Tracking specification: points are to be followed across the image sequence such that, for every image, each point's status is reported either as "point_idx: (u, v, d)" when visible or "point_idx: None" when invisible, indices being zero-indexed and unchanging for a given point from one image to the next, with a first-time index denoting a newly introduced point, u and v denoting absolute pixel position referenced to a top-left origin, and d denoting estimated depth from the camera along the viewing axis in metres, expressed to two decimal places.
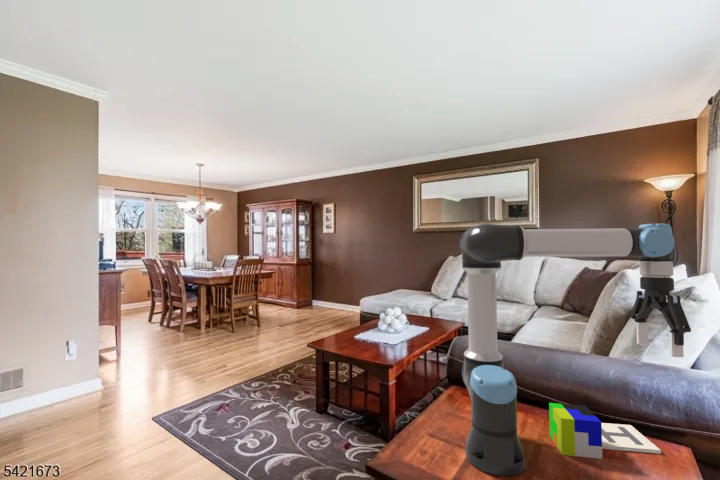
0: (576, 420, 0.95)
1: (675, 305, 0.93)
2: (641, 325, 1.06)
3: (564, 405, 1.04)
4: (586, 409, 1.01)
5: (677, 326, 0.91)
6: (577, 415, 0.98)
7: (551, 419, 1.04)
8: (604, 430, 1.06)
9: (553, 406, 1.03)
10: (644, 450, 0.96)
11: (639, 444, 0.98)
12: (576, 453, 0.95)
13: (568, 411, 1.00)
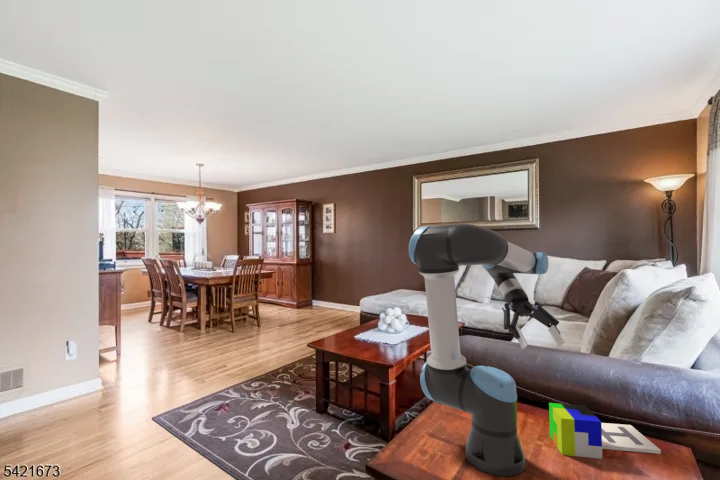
0: (576, 420, 0.95)
1: None
2: None
3: (564, 405, 1.04)
4: (586, 409, 1.01)
5: (555, 320, 1.19)
6: (577, 415, 0.98)
7: (551, 419, 1.04)
8: (604, 430, 1.06)
9: (553, 406, 1.03)
10: (644, 450, 0.96)
11: (639, 444, 0.98)
12: (576, 453, 0.95)
13: (568, 411, 1.00)
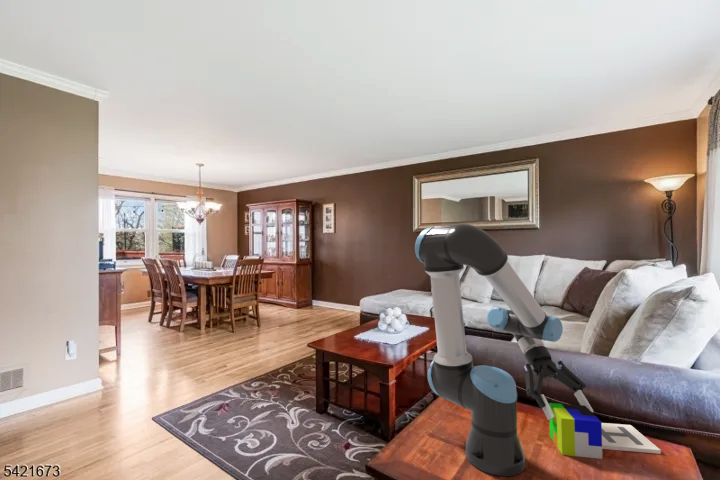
0: (576, 420, 0.95)
1: None
2: None
3: (564, 405, 1.04)
4: (586, 409, 1.01)
5: (581, 383, 1.10)
6: (577, 415, 0.98)
7: (551, 419, 1.04)
8: (604, 430, 1.06)
9: (553, 406, 1.03)
10: (644, 450, 0.96)
11: (639, 444, 0.98)
12: (576, 453, 0.95)
13: (568, 411, 1.00)
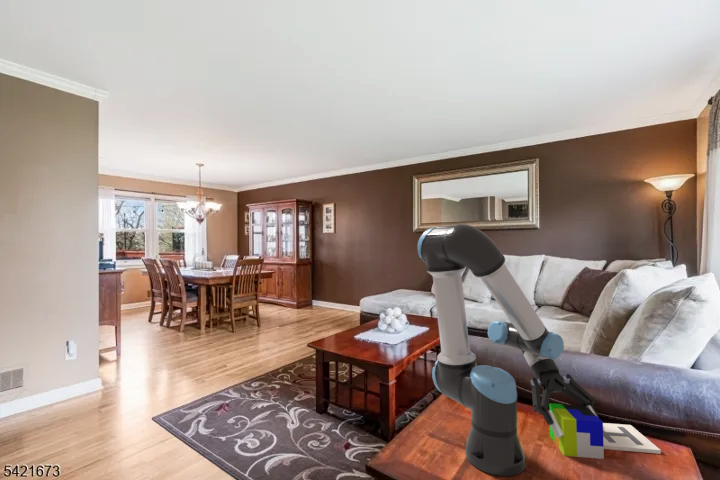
0: (578, 421, 0.95)
1: None
2: None
3: (564, 405, 1.04)
4: (587, 409, 1.01)
5: (591, 398, 1.05)
6: (578, 415, 0.97)
7: None
8: (604, 430, 1.06)
9: (554, 406, 1.03)
10: (644, 450, 0.96)
11: (639, 444, 0.98)
12: (578, 454, 0.94)
13: (569, 411, 1.00)
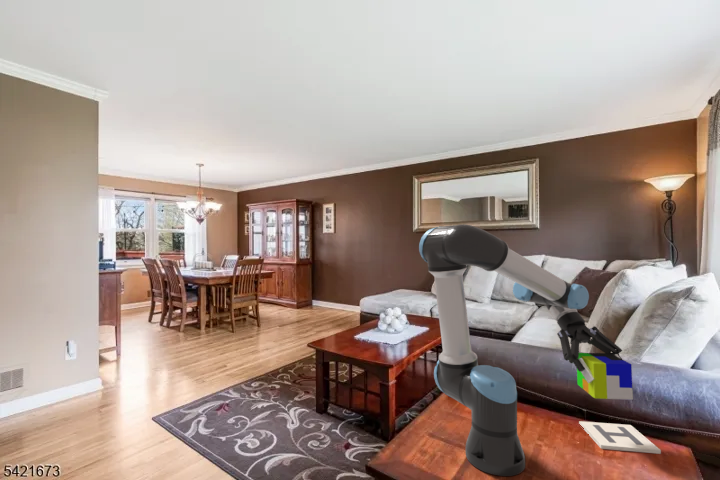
0: (607, 364, 0.98)
1: None
2: None
3: (591, 353, 1.07)
4: (613, 355, 1.05)
5: (617, 347, 1.08)
6: (607, 360, 1.01)
7: None
8: (604, 430, 1.06)
9: (581, 355, 1.07)
10: (644, 450, 0.96)
11: (639, 444, 0.98)
12: (608, 396, 0.98)
13: (597, 357, 1.04)
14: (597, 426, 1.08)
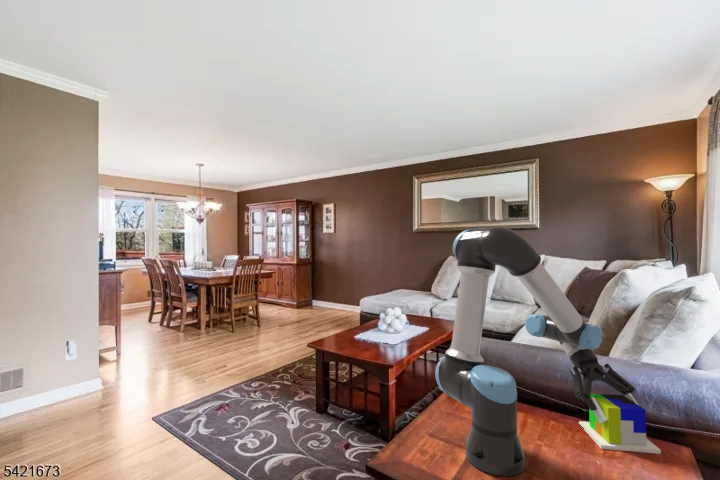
0: (622, 409, 0.99)
1: None
2: None
3: (604, 395, 1.08)
4: (626, 398, 1.06)
5: (630, 386, 1.09)
6: (620, 404, 1.02)
7: None
8: None
9: (594, 396, 1.07)
10: (644, 450, 0.96)
11: None
12: (622, 441, 0.99)
13: (610, 400, 1.04)
14: None
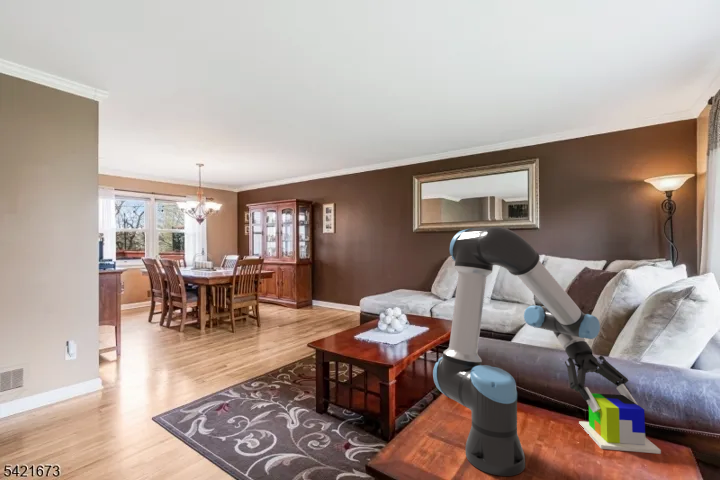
0: (620, 409, 0.99)
1: None
2: None
3: (603, 395, 1.08)
4: (625, 398, 1.06)
5: (623, 377, 1.12)
6: (619, 403, 1.02)
7: None
8: None
9: (593, 396, 1.07)
10: (644, 450, 0.96)
11: None
12: (621, 440, 0.99)
13: (609, 400, 1.04)
14: None
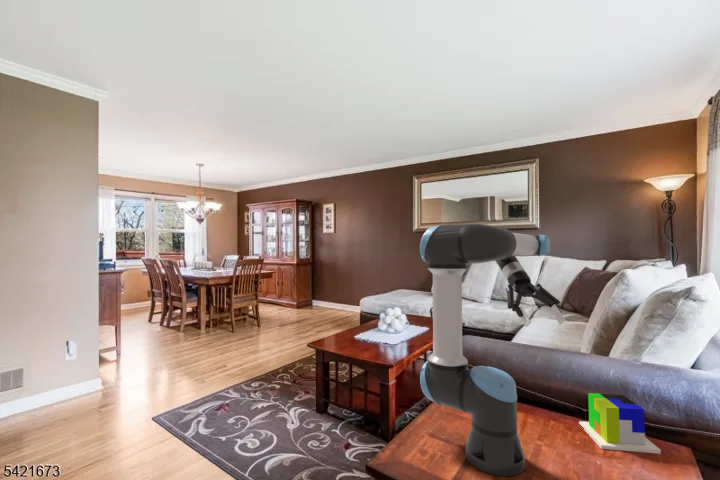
0: (620, 409, 0.99)
1: None
2: None
3: (603, 395, 1.08)
4: (625, 398, 1.06)
5: (556, 300, 1.25)
6: (619, 403, 1.02)
7: (591, 409, 1.08)
8: None
9: (593, 396, 1.07)
10: (644, 450, 0.96)
11: None
12: (620, 440, 0.99)
13: (609, 400, 1.04)
14: None
